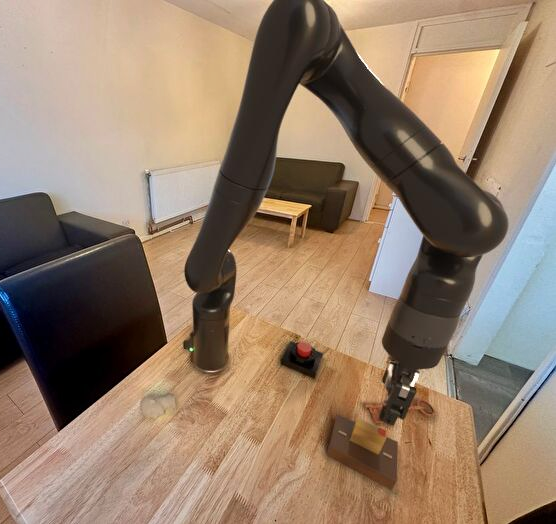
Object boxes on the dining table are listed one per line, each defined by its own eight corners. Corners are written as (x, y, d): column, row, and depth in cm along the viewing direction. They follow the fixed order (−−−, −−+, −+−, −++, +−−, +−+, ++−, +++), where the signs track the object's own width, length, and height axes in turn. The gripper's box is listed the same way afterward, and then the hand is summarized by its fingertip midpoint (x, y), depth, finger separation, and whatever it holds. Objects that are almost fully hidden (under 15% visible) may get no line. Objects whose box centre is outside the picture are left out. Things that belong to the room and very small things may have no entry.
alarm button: (294, 353, 75) (295, 348, 74) (298, 345, 78) (299, 340, 77) (308, 358, 73) (309, 353, 72) (312, 350, 76) (313, 345, 75)
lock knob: (349, 440, 55) (356, 423, 53) (350, 433, 56) (357, 416, 54) (378, 454, 53) (386, 437, 50) (379, 447, 54) (387, 430, 52)
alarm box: (280, 364, 76) (282, 353, 74) (289, 346, 82) (291, 335, 80) (314, 379, 72) (317, 367, 70) (321, 359, 78) (324, 348, 76)
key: (371, 423, 62) (443, 426, 61) (372, 420, 61) (445, 424, 61) (360, 398, 67) (426, 401, 66) (361, 396, 66) (428, 398, 65)
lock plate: (326, 455, 56) (330, 445, 54) (334, 422, 62) (337, 413, 60) (391, 490, 50) (397, 480, 49) (393, 450, 56) (398, 441, 55)
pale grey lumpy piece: (140, 423, 63) (142, 399, 66) (176, 420, 63) (177, 396, 67) (137, 416, 60) (139, 391, 63) (175, 414, 60) (175, 389, 64)
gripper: (391, 297, 49) (367, 365, 56) (387, 347, 38) (358, 423, 46) (445, 311, 46) (412, 382, 53) (457, 370, 35) (413, 449, 42)
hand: (387, 401), depth 49 cm, fingers open, 8 cm apart
